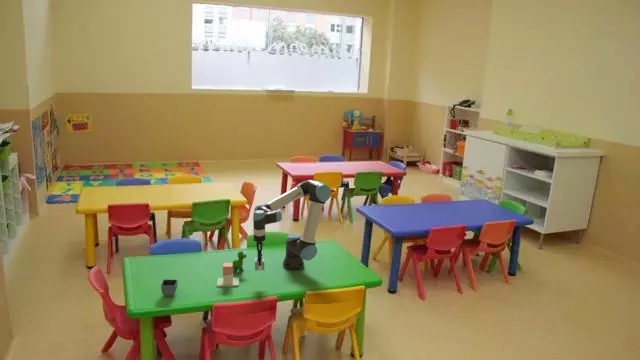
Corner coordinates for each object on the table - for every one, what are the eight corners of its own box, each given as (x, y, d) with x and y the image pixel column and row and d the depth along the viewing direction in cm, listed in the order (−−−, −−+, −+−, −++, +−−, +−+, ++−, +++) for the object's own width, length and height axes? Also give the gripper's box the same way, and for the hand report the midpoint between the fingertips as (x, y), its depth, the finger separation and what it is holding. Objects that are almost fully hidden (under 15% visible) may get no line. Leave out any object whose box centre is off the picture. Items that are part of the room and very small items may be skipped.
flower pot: (175, 299, 328) (175, 285, 326) (160, 299, 327) (160, 285, 325) (178, 292, 336) (177, 279, 334) (163, 292, 336) (163, 279, 333)
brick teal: (264, 266, 353) (264, 257, 351) (264, 270, 347) (264, 261, 345) (254, 266, 352) (254, 258, 351) (254, 270, 346) (254, 261, 345)
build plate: (239, 279, 359) (239, 269, 357) (238, 286, 348) (238, 276, 346) (217, 279, 357) (217, 269, 355) (216, 286, 346) (216, 276, 345)
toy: (244, 274, 367) (244, 253, 363) (225, 271, 370) (225, 251, 366) (247, 270, 373) (247, 250, 369) (228, 268, 375) (228, 248, 372)
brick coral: (232, 271, 354) (232, 262, 352) (232, 275, 348) (232, 266, 347) (223, 271, 353) (223, 262, 352) (222, 275, 347) (222, 266, 346)
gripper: (253, 229, 352) (253, 261, 358) (253, 239, 334) (253, 274, 340) (264, 229, 353) (265, 261, 359) (265, 239, 335) (265, 273, 341)
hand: (259, 267), depth 349 cm, fingers closed on brick teal, 6 cm apart
